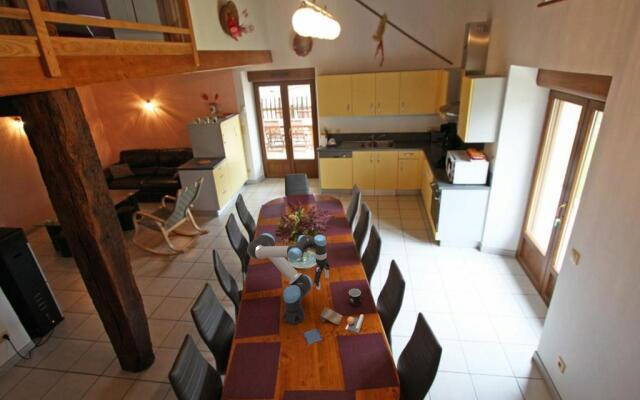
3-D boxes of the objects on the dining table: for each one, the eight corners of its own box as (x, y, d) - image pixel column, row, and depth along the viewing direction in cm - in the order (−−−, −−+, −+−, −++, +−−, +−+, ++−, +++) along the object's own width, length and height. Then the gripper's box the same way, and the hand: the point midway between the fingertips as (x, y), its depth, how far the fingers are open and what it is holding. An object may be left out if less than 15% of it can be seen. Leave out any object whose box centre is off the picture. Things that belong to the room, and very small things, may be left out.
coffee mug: (347, 301, 248) (346, 290, 244) (357, 298, 251) (357, 287, 247) (354, 311, 238) (353, 300, 234) (364, 308, 241) (364, 297, 237)
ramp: (320, 321, 232) (320, 315, 229) (325, 312, 239) (324, 306, 237) (338, 325, 227) (338, 319, 225) (342, 316, 234) (342, 310, 232)
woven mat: (302, 335, 222) (302, 332, 221) (317, 329, 226) (317, 327, 225) (307, 346, 213) (307, 344, 212) (323, 340, 217) (322, 338, 216)
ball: (344, 322, 226) (350, 327, 226) (349, 319, 224) (354, 324, 223) (346, 317, 230) (352, 322, 230) (351, 313, 228) (356, 318, 228)
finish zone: (345, 329, 223) (345, 325, 222) (350, 316, 234) (350, 312, 233) (358, 333, 220) (358, 328, 218) (363, 319, 231) (363, 314, 229)
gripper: (317, 269, 209) (319, 296, 218) (333, 248, 230) (335, 274, 238) (307, 266, 213) (309, 293, 221) (324, 246, 233) (325, 271, 242)
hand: (322, 283), depth 230 cm, fingers open, 13 cm apart
